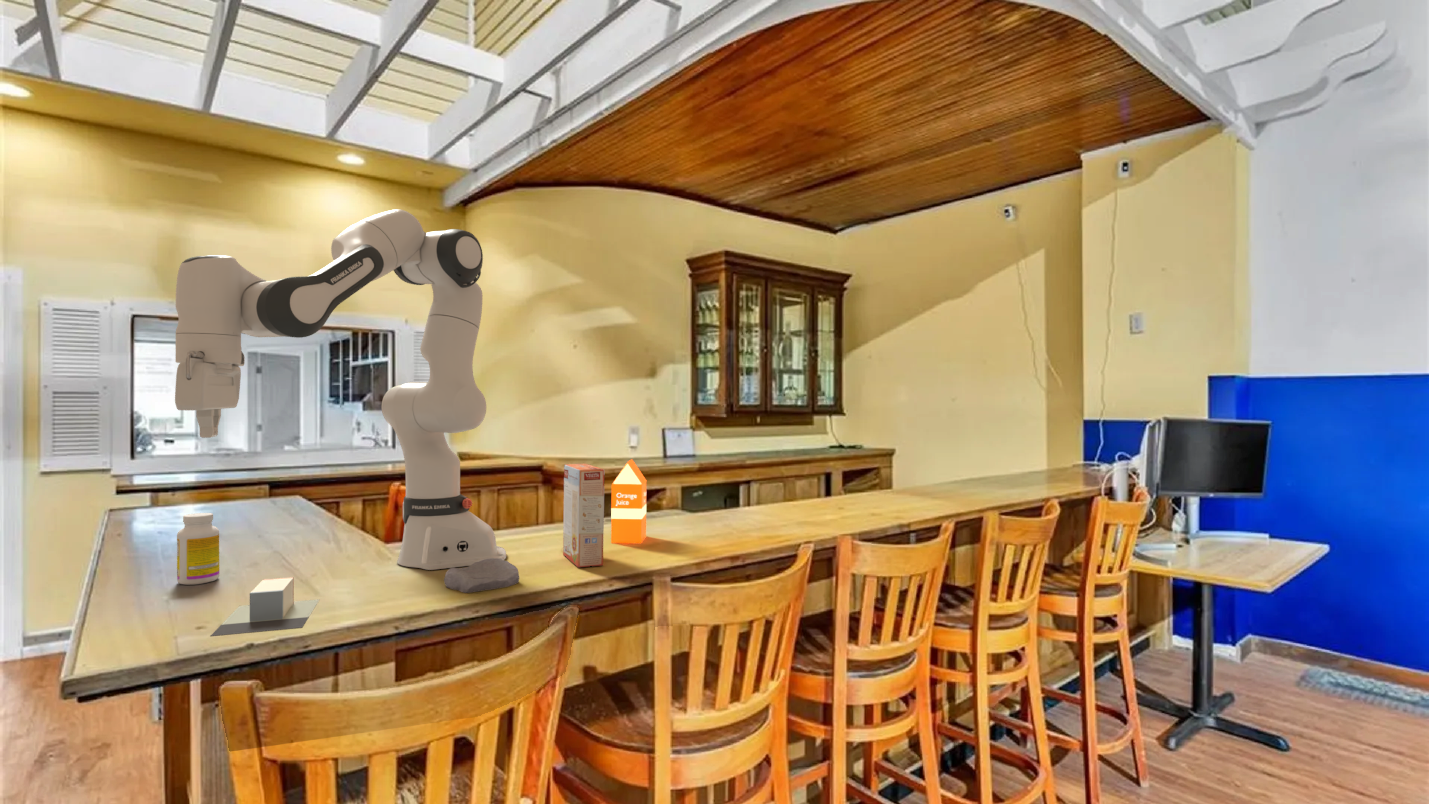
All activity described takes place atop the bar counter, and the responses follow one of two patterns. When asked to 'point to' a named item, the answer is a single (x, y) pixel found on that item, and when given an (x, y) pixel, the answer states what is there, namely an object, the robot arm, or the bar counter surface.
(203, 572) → the supplement bottle
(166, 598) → the bar counter surface
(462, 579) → the stone block
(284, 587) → the pillar block
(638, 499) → the orange juice
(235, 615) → the bar mat
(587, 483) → the cracker box
